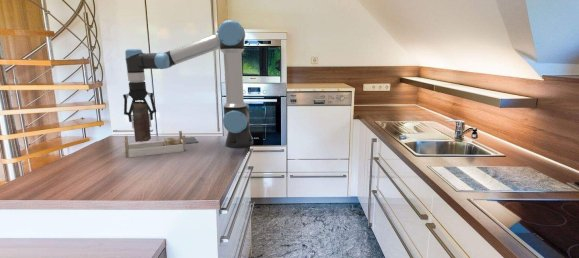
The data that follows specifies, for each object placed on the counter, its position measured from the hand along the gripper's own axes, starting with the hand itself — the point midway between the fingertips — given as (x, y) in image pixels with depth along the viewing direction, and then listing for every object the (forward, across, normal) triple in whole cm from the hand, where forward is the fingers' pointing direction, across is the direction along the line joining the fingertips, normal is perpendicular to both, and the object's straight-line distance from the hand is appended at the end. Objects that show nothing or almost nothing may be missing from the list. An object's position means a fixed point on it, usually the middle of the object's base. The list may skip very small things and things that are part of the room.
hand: (142, 127), depth 165 cm
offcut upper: (+11, -14, 0) cm, 17 cm away
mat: (+13, -21, -15) cm, 29 cm away
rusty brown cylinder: (+7, 0, 0) cm, 7 cm away
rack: (+13, -5, 0) cm, 14 cm away
